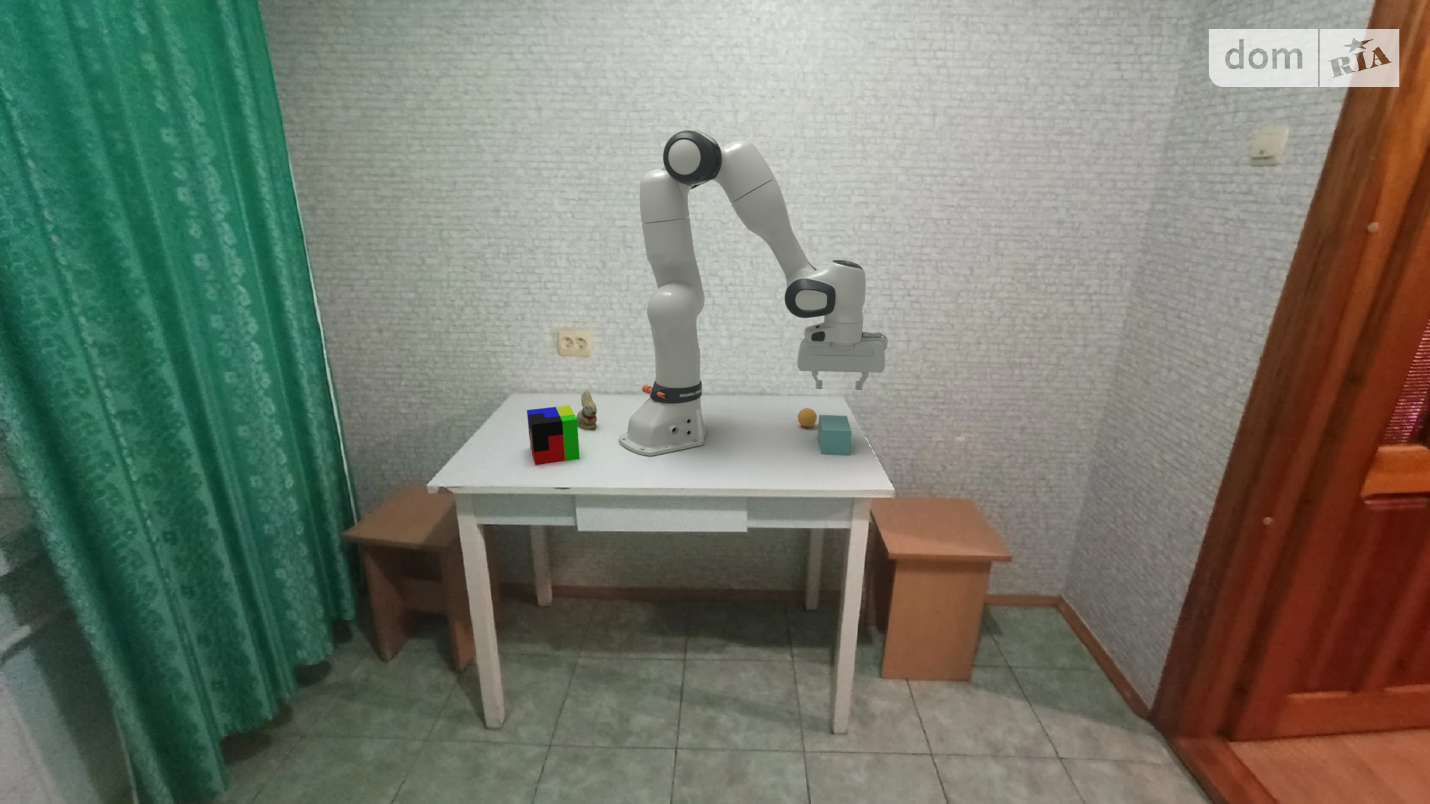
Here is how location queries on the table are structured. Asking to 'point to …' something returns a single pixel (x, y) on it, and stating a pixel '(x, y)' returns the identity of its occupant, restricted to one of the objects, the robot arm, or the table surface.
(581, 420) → the chocolate bunny
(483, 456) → the table surface
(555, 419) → the puzzle toy
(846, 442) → the teal rectangular box
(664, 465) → the table surface
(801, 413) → the ball
